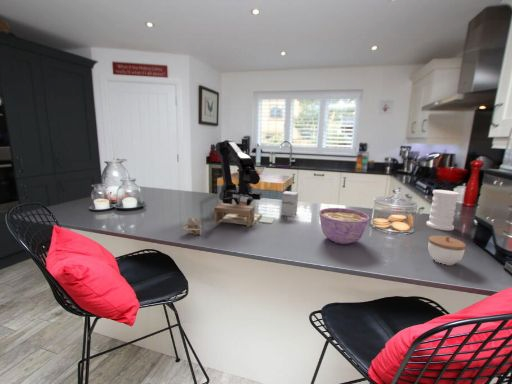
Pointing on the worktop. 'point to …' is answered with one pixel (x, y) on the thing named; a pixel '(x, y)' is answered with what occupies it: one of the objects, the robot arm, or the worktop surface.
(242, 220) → the board
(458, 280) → the worktop surface
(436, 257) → the lidded jar
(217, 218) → the brown wooden u-shape
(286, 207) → the supplement box
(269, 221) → the tile
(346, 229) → the bowl of food
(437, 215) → the decorative container
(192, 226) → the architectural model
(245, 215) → the block
